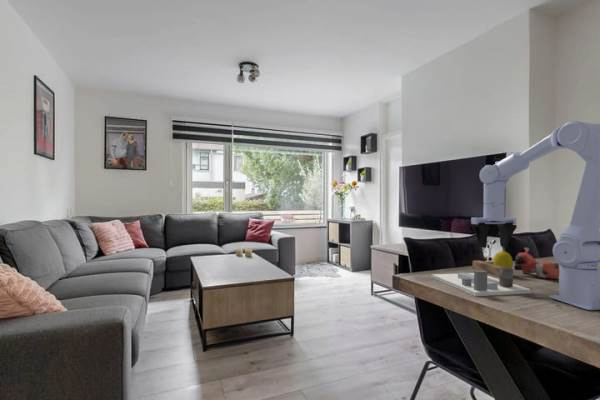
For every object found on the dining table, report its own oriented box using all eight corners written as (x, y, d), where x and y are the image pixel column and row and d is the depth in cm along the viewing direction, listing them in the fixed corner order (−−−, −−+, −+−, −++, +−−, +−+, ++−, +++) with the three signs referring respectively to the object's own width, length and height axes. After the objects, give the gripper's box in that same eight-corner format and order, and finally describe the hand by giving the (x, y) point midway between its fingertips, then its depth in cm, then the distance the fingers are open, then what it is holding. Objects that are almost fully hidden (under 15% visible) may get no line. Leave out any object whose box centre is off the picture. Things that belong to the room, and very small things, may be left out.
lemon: (516, 276, 103) (516, 252, 103) (499, 276, 103) (499, 251, 103) (505, 272, 109) (506, 249, 109) (489, 272, 109) (489, 249, 109)
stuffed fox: (525, 251, 113) (568, 254, 103) (520, 280, 109) (564, 285, 99) (517, 240, 109) (561, 242, 99) (512, 270, 105) (556, 275, 95)
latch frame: (530, 293, 85) (531, 271, 84) (475, 296, 81) (475, 273, 81) (478, 275, 103) (479, 257, 103) (431, 277, 100) (432, 258, 100)
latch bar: (515, 286, 86) (516, 270, 86) (505, 286, 86) (505, 270, 86) (480, 274, 99) (480, 260, 99) (471, 275, 99) (471, 260, 99)
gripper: (503, 203, 104) (503, 244, 104) (464, 203, 102) (464, 245, 102) (522, 204, 97) (521, 248, 98) (480, 203, 95) (480, 248, 95)
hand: (493, 247), depth 99 cm, fingers open, 7 cm apart
